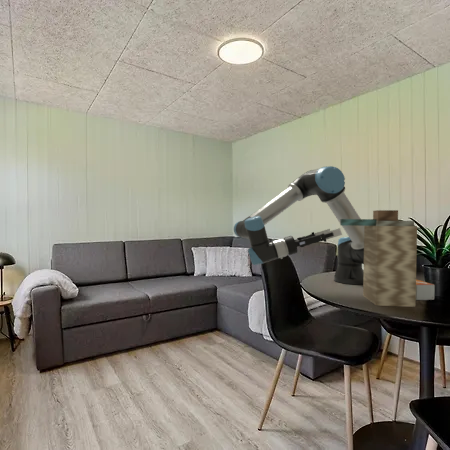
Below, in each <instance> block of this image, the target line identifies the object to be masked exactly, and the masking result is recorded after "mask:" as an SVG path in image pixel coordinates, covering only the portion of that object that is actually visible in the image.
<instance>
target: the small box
mask: <svg viewBox="0 0 450 450" xmlns="http://www.w3.org/2000/svg"><path fill="white" fill-rule="evenodd" d="M435 287H436V286H435V284H434V283H430V282H426V281H424V280H420V279H417V278H416V301H429V300H430V301H432V300H435Z"/></svg>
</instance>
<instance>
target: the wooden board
mask: <svg viewBox="0 0 450 450" xmlns="http://www.w3.org/2000/svg"><path fill="white" fill-rule="evenodd" d="M417 244H418V226H417V225H416V226H415V220H398V221H376V226H364V264H363V272H364V277H363V285H362V286H363V287H362V289H363V290H362V293H363V294H362V297H364V298H365V299H367V300H368V301H369V302H370V303H372V304H374V305H375V306H381V307H382V306H383V307H410V308H411V307H412V308H416V303H417V302H416V301H417V300H416V279H417V259H418V258H417V252H418V251H417V250H418V249H417V247H418V245H417Z"/></svg>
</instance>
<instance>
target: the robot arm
mask: <svg viewBox="0 0 450 450" xmlns="http://www.w3.org/2000/svg"><path fill="white" fill-rule="evenodd" d="M345 180H346V177H345V174H344V173H343V171H342V170H341V169H340V168H338V167H337V166H333V165H332V166H331V165H329V166H322V167H319V168H316V169H311V170H308V171H306V172H304V173H302V174H301V175H300V176H298V177H297V178H296V179H294V180H293V181H292V182H290V183H289V184H288V185H287V188H286V189H284V190H282V191H281V192H280V193H279V194H278V195H276V196H275V197H273V198H272V199H271V200H269V201H268V202H267V203H265V204H264V205H263V206H261V207H259V208H258V209H257V210H256V211H254V212H253V213H252V214H250V215H248V216H247V217H246V218H244V219H242V220H240V221H238V222H236V223H235V224H234V226H233V233H234V235H235V236H236V237H239V238H240V239H247V240H249V242H250V243H249V244H250V246H251V247H249V248H248V249H247V253H248V254H249V255H248V256H249V258H250V262H251V264H252V265H253V266H257V265H261V264H266V263H269V262H271V261H274V260H278V259H280V260H282V259H283V258H285V257H287V256H288V255H289V256H291V255H296V254H298V247H299V248H305V247H306V246H310V245H312V244H316V243H319V242H323V243H326V242H327V240H329V239H333V238H337V237H339V236H343V233H342V231H341V228H340V227H339V228H335V229H332V230H331V229H330V228H327V229H324V230H320V231H317V232H314V231H313V232H311V233H310V234H308V235H305V236H299V237H297V238H296V239H295V238H294V237H293V236H292V235H289V236H285V237H283V238H278V239H276V240H275V239H274V240H272V241H269V240H270V239H269V238H268V235H267V231H266V227H265V225H267V224H268V223H270V221H272V220H273V219H275V218H276V217H278V215H280V214H281V213H283V212H284V211H286V210H287V209H288V208H289V207H290V208H291V206H292V205H294V204H295V203H296V202H301V201H303V200H304V199H306V198H308V197H310V196H317V198H319V200H320V202H322V203H326V204H327V206H328V208H329V209H330V210H331V213H333V215H334V216H335V218H336V219H337V221H338V223H340V219H361V217H360V216H359V214H358V212H357V210H356V209H355V208H354V206H353V205H352V203H351V201H350V200H349V198H348V196H347V195H346V193H345V190H346V187H345V184H346V181H345ZM340 226H341V227H342V228H343V230H344V231H345V233H346V234H347V236H345V237H344V236H343V237H339V239H338V241H337V267H336V270H335V273H334V275H333V281H334V282H337V283H340V284H346V285H362V284H363V277H364V268H363V265H364V226H352V225H340Z"/></svg>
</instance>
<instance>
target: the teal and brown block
mask: <svg viewBox="0 0 450 450" xmlns="http://www.w3.org/2000/svg"><path fill="white" fill-rule="evenodd" d="M376 221H399V210H398V209H397V210H396V209H395V210H393V209H392V210H389V209H388V210H387V209H386V210H385V209H383V210H381V209H379V210H372V219H371V218H369V219H362V218H360V219H340V222H339V224H340V226H341V225H352V226H376Z"/></svg>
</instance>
